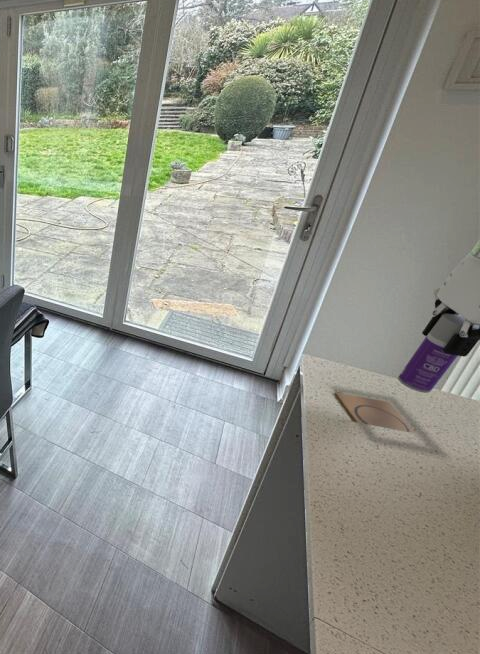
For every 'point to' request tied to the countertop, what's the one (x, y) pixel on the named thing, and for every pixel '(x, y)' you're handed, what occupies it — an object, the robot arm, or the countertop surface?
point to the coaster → (374, 412)
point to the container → (432, 355)
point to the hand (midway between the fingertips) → (443, 344)
